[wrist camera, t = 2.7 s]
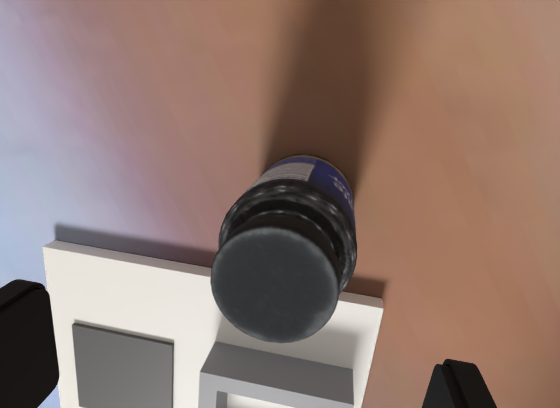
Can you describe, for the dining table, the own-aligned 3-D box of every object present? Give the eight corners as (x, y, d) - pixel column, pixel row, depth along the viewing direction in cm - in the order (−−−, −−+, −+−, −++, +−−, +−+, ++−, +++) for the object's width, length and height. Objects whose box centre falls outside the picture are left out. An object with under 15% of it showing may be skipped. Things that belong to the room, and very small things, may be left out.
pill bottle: (361, 236, 23) (376, 354, 13) (270, 251, 25) (217, 369, 14) (342, 141, 22) (341, 190, 11) (246, 163, 23) (167, 224, 13)
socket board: (381, 298, 24) (389, 339, 20) (343, 469, 30) (343, 528, 26) (55, 240, 27) (6, 266, 23) (71, 405, 32) (33, 449, 28)
